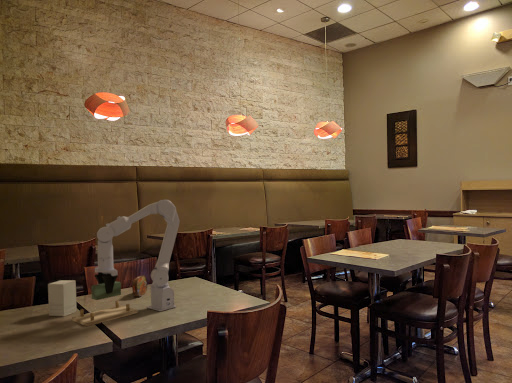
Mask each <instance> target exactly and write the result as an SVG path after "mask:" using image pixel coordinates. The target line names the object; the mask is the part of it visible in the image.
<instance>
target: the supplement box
mask: <svg viewBox="0 0 512 383" xmlns="http://www.w3.org/2000/svg"><path fill="white" fill-rule="evenodd" d="M76 285H77V283H76V280H73V279H72V280H70V279H69V280H61V279H59V280H57V281H54V282H49V283H47V294H48V295H47V296H48V316H49V317H50V316H52V317H66V316H69V315H71V314H73V313H76V312H77V286H76Z"/></svg>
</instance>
